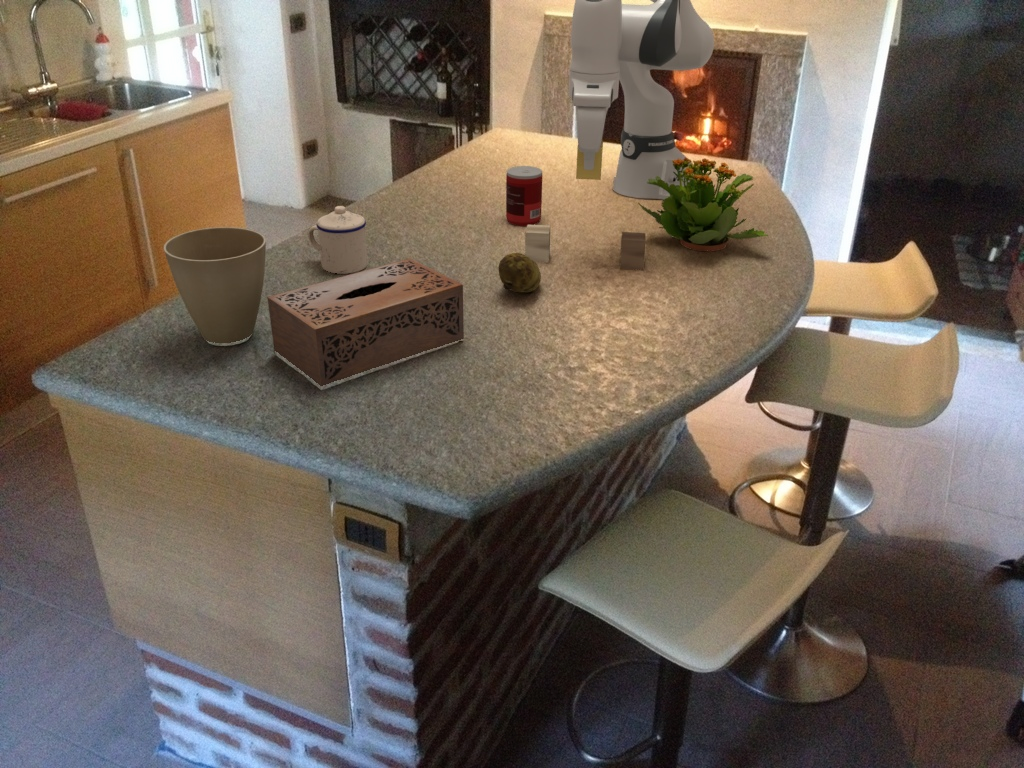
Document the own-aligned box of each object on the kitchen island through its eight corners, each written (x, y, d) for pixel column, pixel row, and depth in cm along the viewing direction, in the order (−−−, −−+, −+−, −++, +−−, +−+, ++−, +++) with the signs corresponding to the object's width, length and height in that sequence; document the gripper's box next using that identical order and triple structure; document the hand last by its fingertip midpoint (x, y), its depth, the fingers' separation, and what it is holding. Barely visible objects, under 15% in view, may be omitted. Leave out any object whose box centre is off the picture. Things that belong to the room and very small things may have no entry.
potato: (557, 283, 164) (559, 242, 161) (524, 308, 155) (524, 265, 151) (518, 275, 168) (518, 234, 164) (482, 298, 158) (482, 256, 154)
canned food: (542, 215, 198) (543, 166, 193) (539, 227, 191) (541, 176, 186) (508, 213, 199) (508, 164, 194) (504, 225, 192) (504, 175, 187)
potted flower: (787, 246, 183) (802, 161, 175) (726, 277, 168) (739, 186, 160) (684, 217, 198) (693, 138, 190) (620, 244, 183) (626, 159, 174)
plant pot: (227, 366, 135) (210, 268, 127) (161, 342, 142) (141, 247, 134) (297, 330, 146) (286, 237, 138) (232, 310, 153) (219, 220, 145)
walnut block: (619, 261, 175) (621, 231, 172) (642, 262, 175) (645, 232, 172) (619, 269, 171) (621, 239, 168) (643, 270, 171) (646, 240, 168)
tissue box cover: (412, 313, 153) (410, 258, 148) (463, 342, 144) (462, 284, 139) (275, 356, 139) (267, 296, 134) (321, 392, 129) (315, 329, 124)
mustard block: (577, 172, 168) (578, 140, 165) (601, 173, 168) (603, 140, 165) (576, 178, 164) (577, 146, 161) (600, 179, 164) (602, 147, 161)
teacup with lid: (377, 261, 173) (373, 203, 167) (353, 278, 166) (348, 217, 160) (324, 252, 177) (318, 195, 171) (298, 268, 169) (291, 209, 164)
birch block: (527, 253, 178) (527, 224, 175) (549, 254, 178) (550, 225, 175) (524, 261, 174) (525, 232, 171) (547, 263, 174) (548, 233, 171)
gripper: (578, 75, 168) (575, 149, 174) (572, 98, 150) (569, 179, 157) (612, 76, 167) (607, 150, 174) (610, 99, 149) (605, 180, 156)
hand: (589, 164), depth 165 cm, fingers closed on mustard block, 4 cm apart
